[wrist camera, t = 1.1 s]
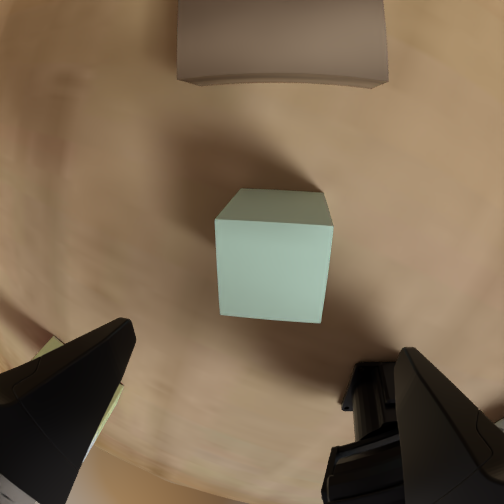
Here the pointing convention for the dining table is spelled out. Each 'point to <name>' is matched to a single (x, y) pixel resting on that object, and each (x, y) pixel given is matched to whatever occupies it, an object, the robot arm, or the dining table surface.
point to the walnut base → (282, 42)
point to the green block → (273, 255)
